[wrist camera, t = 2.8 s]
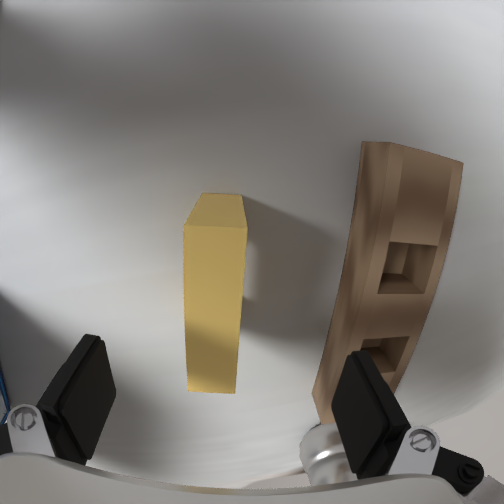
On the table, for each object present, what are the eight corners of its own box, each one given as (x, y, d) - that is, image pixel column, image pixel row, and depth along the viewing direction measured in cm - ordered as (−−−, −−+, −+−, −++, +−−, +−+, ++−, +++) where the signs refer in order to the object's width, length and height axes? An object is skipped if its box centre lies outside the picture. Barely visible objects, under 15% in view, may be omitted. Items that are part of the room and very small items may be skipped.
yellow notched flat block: (202, 193, 19) (184, 224, 12) (241, 195, 19) (247, 228, 12) (199, 314, 22) (188, 391, 15) (233, 316, 22) (235, 393, 15)
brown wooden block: (362, 141, 19) (389, 142, 15) (430, 157, 19) (463, 162, 15) (311, 393, 26) (321, 424, 22) (368, 388, 27) (382, 416, 23)
